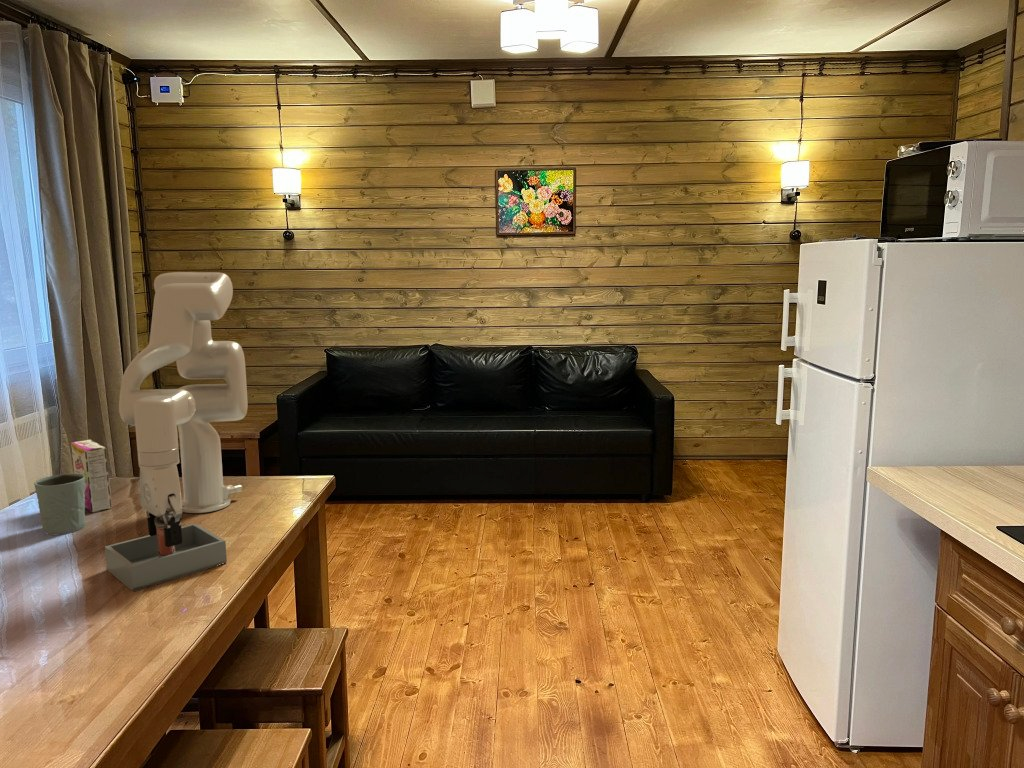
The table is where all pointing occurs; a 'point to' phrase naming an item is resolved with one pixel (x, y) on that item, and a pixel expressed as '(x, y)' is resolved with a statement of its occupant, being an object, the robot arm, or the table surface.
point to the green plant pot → (61, 503)
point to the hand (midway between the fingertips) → (165, 539)
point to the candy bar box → (92, 473)
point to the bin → (164, 558)
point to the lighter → (162, 538)
